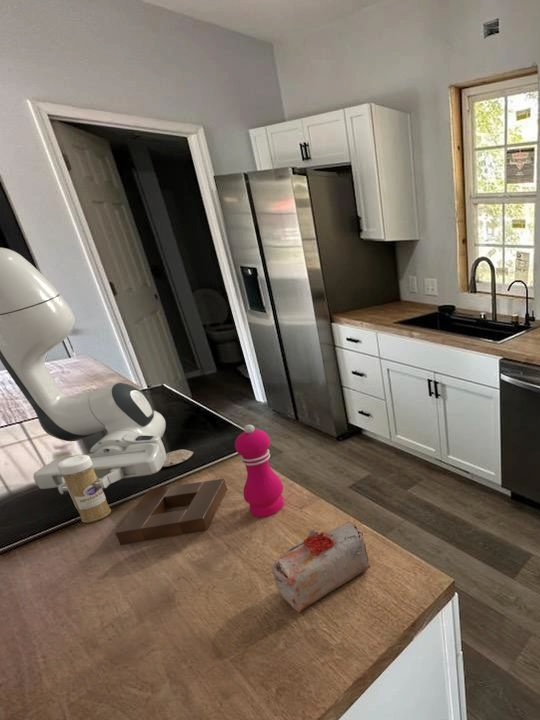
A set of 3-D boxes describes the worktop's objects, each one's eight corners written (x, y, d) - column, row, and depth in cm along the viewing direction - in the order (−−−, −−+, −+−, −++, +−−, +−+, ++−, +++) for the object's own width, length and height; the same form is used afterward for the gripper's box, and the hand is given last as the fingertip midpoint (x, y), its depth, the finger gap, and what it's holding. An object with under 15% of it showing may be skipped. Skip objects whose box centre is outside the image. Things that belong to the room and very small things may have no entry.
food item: (294, 622, 64) (282, 574, 60) (274, 592, 68) (263, 546, 65) (374, 571, 73) (368, 527, 69) (351, 549, 78) (345, 506, 74)
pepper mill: (251, 501, 90) (231, 419, 83) (288, 494, 93) (271, 415, 85) (244, 522, 84) (222, 436, 77) (284, 514, 86) (266, 430, 79)
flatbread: (159, 472, 99) (157, 468, 99) (149, 461, 104) (148, 457, 103) (198, 458, 106) (197, 454, 105) (187, 448, 110) (186, 445, 109)
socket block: (120, 545, 77) (114, 532, 76) (153, 500, 90) (149, 489, 89) (207, 530, 82) (203, 518, 81) (227, 489, 94) (224, 478, 93)
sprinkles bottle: (95, 524, 82) (70, 467, 77) (75, 522, 83) (49, 465, 78) (118, 509, 87) (95, 454, 82) (98, 508, 87) (75, 453, 82)
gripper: (54, 447, 89) (5, 483, 77) (167, 435, 95) (139, 466, 83) (65, 472, 91) (19, 511, 79) (175, 458, 98) (148, 492, 85)
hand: (81, 488), depth 81 cm, fingers closed on sprinkles bottle, 4 cm apart
